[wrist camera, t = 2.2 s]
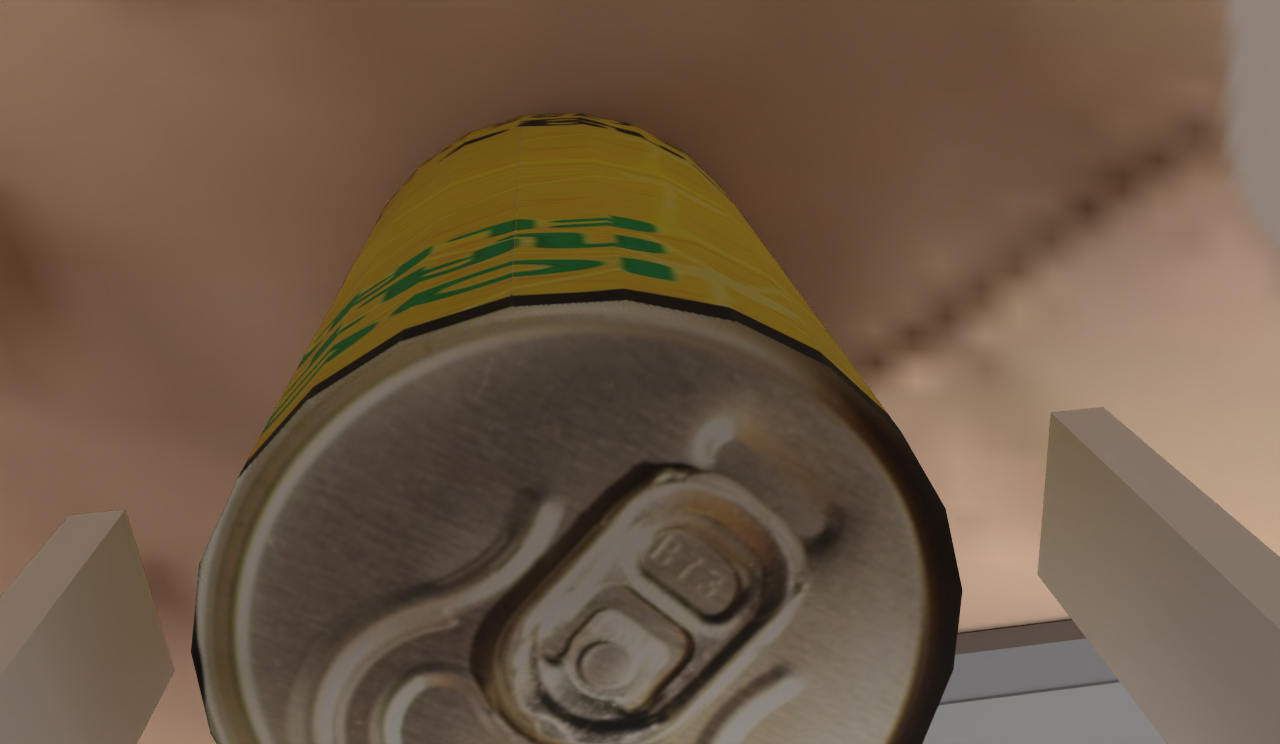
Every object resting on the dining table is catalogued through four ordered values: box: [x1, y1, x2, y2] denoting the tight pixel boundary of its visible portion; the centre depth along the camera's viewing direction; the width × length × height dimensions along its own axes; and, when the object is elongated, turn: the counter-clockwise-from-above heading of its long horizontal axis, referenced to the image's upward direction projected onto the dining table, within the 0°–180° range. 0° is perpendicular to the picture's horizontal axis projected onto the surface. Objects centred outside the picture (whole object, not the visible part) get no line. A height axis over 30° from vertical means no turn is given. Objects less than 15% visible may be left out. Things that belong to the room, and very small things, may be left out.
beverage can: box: [191, 113, 962, 744], centre depth 18 cm, size 9×9×12 cm
